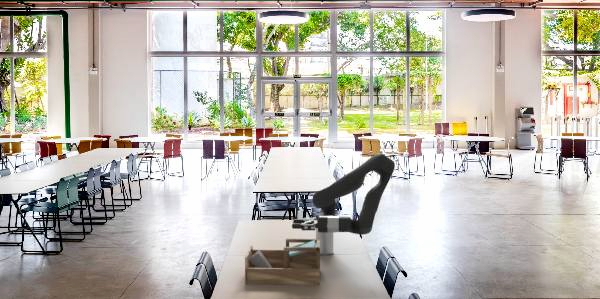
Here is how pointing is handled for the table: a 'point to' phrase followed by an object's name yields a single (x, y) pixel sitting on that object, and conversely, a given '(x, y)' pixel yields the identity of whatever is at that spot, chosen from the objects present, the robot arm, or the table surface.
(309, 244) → the trapdoor
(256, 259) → the granite stone
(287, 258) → the trapdoor frame
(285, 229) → the table surface
